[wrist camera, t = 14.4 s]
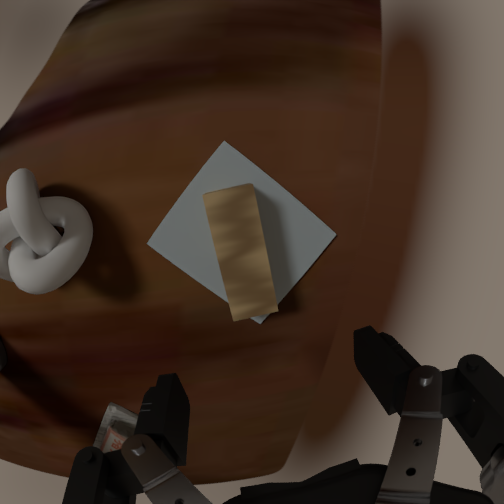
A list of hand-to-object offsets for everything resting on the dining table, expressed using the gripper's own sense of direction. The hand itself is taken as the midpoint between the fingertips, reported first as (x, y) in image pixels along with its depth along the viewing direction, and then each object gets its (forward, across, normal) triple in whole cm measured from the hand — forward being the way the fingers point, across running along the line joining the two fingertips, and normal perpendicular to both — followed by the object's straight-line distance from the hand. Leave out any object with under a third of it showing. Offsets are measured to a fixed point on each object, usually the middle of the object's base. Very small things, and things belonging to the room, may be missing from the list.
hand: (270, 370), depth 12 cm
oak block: (+14, 0, -4) cm, 15 cm away
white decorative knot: (+17, -20, +8) cm, 27 cm away
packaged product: (+18, -24, -25) cm, 39 cm away
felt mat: (+17, +1, +2) cm, 17 cm away
